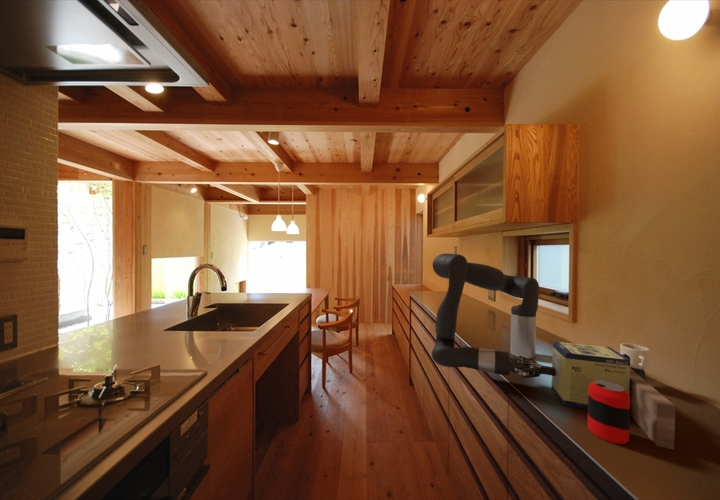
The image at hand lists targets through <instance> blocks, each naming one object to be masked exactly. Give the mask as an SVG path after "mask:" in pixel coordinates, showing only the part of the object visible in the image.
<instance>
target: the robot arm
mask: <svg viewBox="0 0 720 500" xmlns="http://www.w3.org/2000/svg"><path fill="white" fill-rule="evenodd" d="M432 269H433V272H434V273H435V275H436V276H438V277H440V278H442V279H447V280H448V287H447V291H446V294H445V296H444V298H443V300H442V301H441V303H440V304H439V307H438V308H437V313H436V316H435V317H436V318H435V319H436V320H435V327H434V328H435V334H436V337H435V345H434V347H433V349H432V351H431V358H432V361H434V363H436V364H437V365H438V366H441V367H447V368H467V369H472V370H473V369H474V370H476V371H477V370H478V371H482V372H484V373H490V374H493V375H494V374H496V375H500V376H507V377H509V376H510V373H511V372H512V373H515V374H517V375H522V376H521V377H522V378H523V379H529V378H539V377H540V376H541V375H546V376H550V377H552V376H555V375H556V370H555V368H554V367H552V366H547V365H542V364H540V363H538V361H536V360H534V359H535V358H536V344H537V343H536V342H537V341H536V339H537V337H536V335H537V330H536V329H537V311H538V309H539V308H538V307H539V296H540V284H539V282H538V280H537V279H536V278H534V277H528V276H518V275H509V274H505V273H504V272H503V271H502V270H501V269H500V268H499V269H498V268H496V267H494V266H491V265H488V264H484V263H483V264H482V263H476V262H468V260H467V258H466V257H465V256H464V255H462V254H457V253H440V254H438V255H437V256H436V257H435V258H434V259H433V260H432ZM466 283H467V284H468V285H469V284H470V285H472V286H475V287H478V288H481V289H484V290H489V291H494V292H495V291H496V292H497V291H498V292H501V293H504V294H507V295H509V296H511V297H514V298H519V299H522V302H521V303H520V304H518V305H513V306H511V308H510V309H511V310H510V347H509V348H510V352H508V351H504V350H497V349H491V348H479V347H474V346H473V347H472V346H463V347H456V345H455V343H456V342H455V341H456V340H455V338H456V337H455V336H456V329H457V320H458V319H457V318H458V312H459V307H460V302H461V299H462V295H463V291H464V286H465V284H466ZM510 354H511V355H513V356H515V357H511V355H510ZM532 359H533V360H532Z"/></svg>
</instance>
